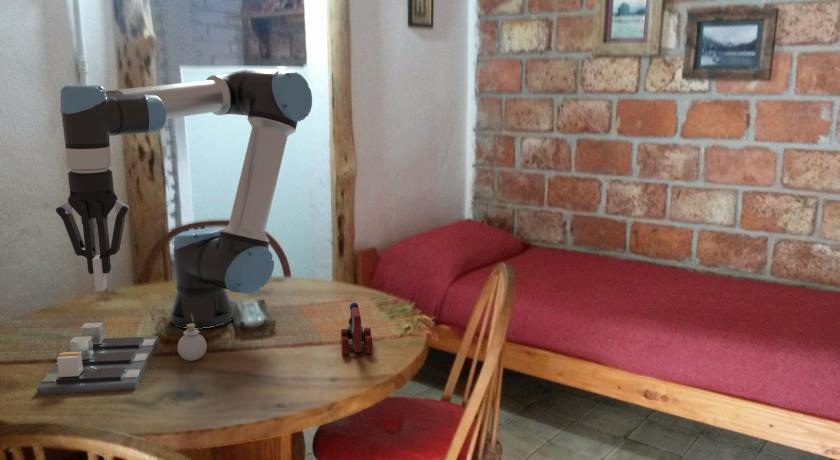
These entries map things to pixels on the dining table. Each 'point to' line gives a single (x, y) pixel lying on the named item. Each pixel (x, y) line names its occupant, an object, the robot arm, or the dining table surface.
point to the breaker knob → (70, 364)
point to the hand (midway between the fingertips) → (101, 288)
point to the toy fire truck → (356, 334)
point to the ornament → (191, 344)
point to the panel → (103, 363)
